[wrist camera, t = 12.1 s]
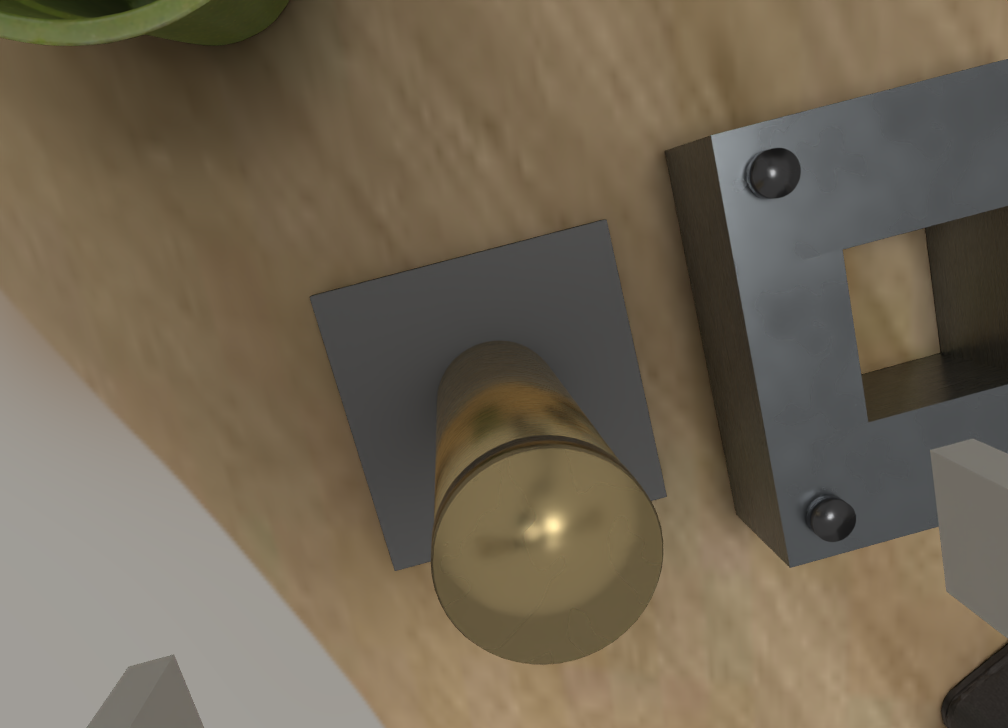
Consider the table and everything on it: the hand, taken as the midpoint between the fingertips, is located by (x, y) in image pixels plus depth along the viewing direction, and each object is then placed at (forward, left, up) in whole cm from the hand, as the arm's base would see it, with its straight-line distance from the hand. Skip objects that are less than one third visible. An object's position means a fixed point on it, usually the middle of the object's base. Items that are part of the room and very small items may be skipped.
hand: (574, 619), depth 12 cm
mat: (0, 0, -18) cm, 18 cm away
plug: (0, 0, -17) cm, 17 cm away
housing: (0, +16, -18) cm, 24 cm away
